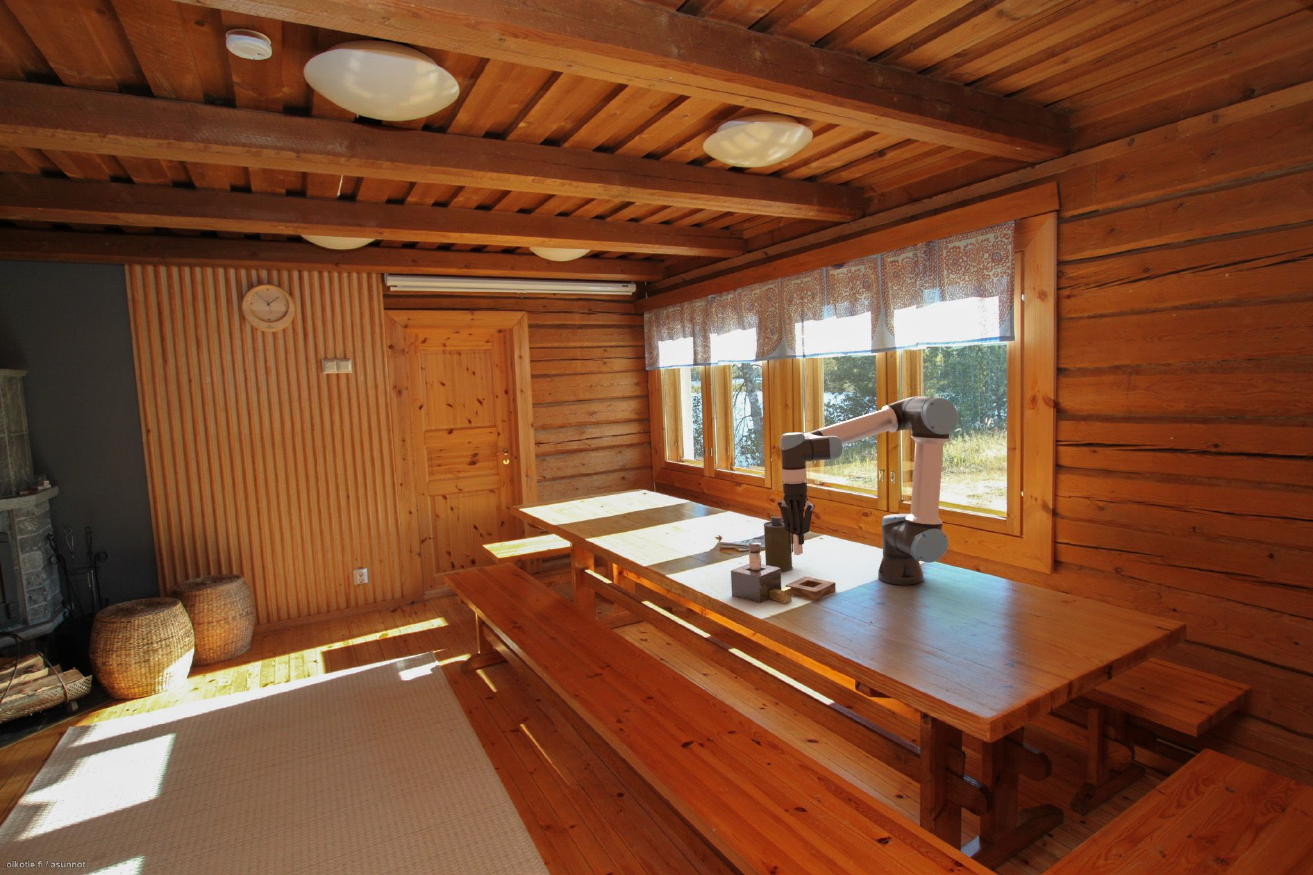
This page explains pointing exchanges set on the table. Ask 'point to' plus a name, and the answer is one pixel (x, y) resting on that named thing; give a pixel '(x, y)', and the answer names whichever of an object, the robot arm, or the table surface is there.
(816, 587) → the brown flat square frame
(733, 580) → the socket block
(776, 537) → the canister
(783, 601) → the yellow notched block
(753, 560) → the pink cylindrical peg
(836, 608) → the table surface
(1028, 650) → the table surface
